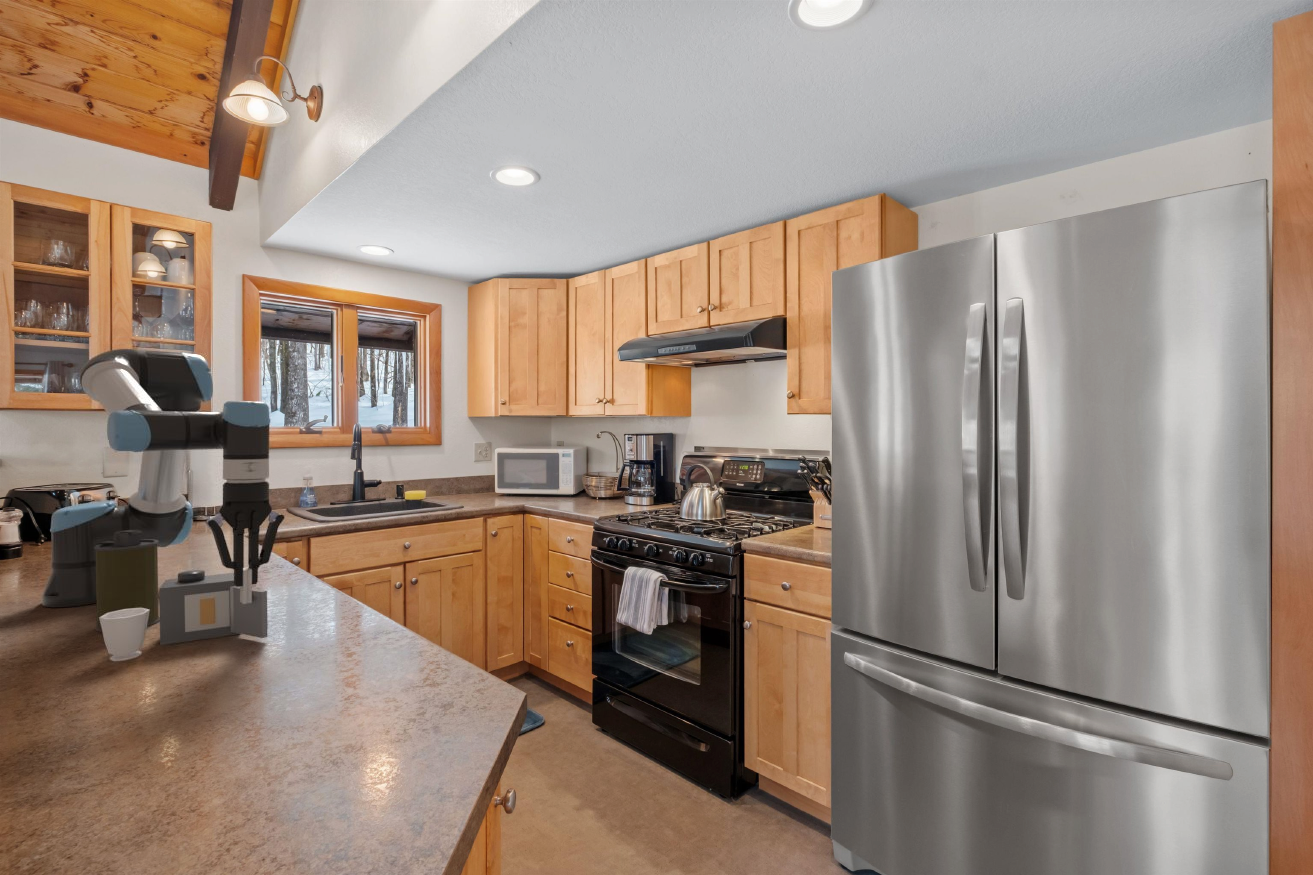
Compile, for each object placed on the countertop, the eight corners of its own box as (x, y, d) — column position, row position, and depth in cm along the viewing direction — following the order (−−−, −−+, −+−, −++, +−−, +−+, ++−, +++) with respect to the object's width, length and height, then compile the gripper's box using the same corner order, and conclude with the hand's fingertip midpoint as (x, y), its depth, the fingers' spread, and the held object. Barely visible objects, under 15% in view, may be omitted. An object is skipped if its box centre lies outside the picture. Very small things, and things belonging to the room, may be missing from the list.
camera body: (166, 633, 127) (165, 572, 126) (243, 622, 133) (242, 564, 133) (159, 645, 119) (158, 581, 119) (241, 634, 126) (240, 572, 126)
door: (261, 638, 120) (260, 592, 120) (229, 631, 125) (228, 586, 124) (269, 636, 122) (268, 590, 122) (236, 629, 126) (236, 585, 126)
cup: (100, 667, 109) (99, 621, 109) (100, 651, 116) (99, 608, 116) (151, 657, 114) (150, 613, 113) (148, 643, 121) (147, 601, 121)
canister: (172, 617, 137) (171, 527, 137) (127, 633, 127) (126, 535, 126) (127, 616, 138) (126, 526, 138) (79, 631, 128) (77, 534, 127)
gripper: (210, 483, 113) (209, 612, 114) (289, 480, 123) (288, 599, 123) (201, 481, 119) (201, 604, 119) (278, 478, 128) (277, 592, 128)
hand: (245, 601), depth 121 cm, fingers closed
